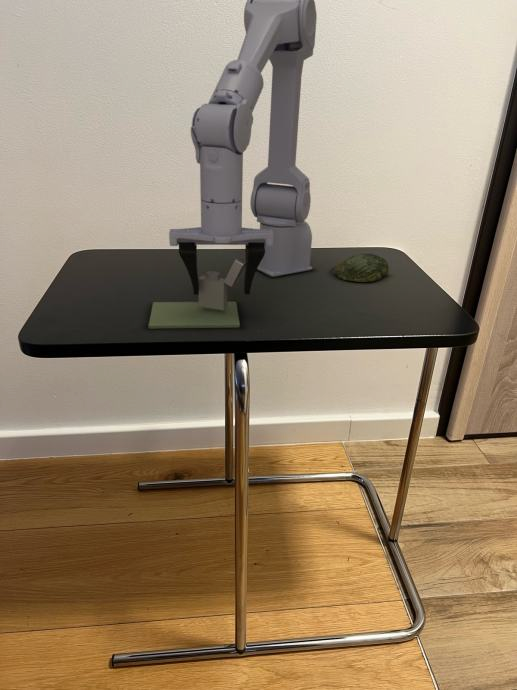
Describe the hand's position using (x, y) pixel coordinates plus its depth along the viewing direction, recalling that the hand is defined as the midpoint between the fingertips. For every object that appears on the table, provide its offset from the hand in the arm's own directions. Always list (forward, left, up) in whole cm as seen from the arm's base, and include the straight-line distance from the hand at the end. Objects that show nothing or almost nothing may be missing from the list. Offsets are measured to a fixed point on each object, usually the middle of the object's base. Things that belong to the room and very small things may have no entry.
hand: (221, 292), depth 80 cm
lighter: (0, 0, -3) cm, 3 cm away
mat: (+4, -2, -4) cm, 6 cm away
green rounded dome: (-32, -5, -4) cm, 33 cm away
